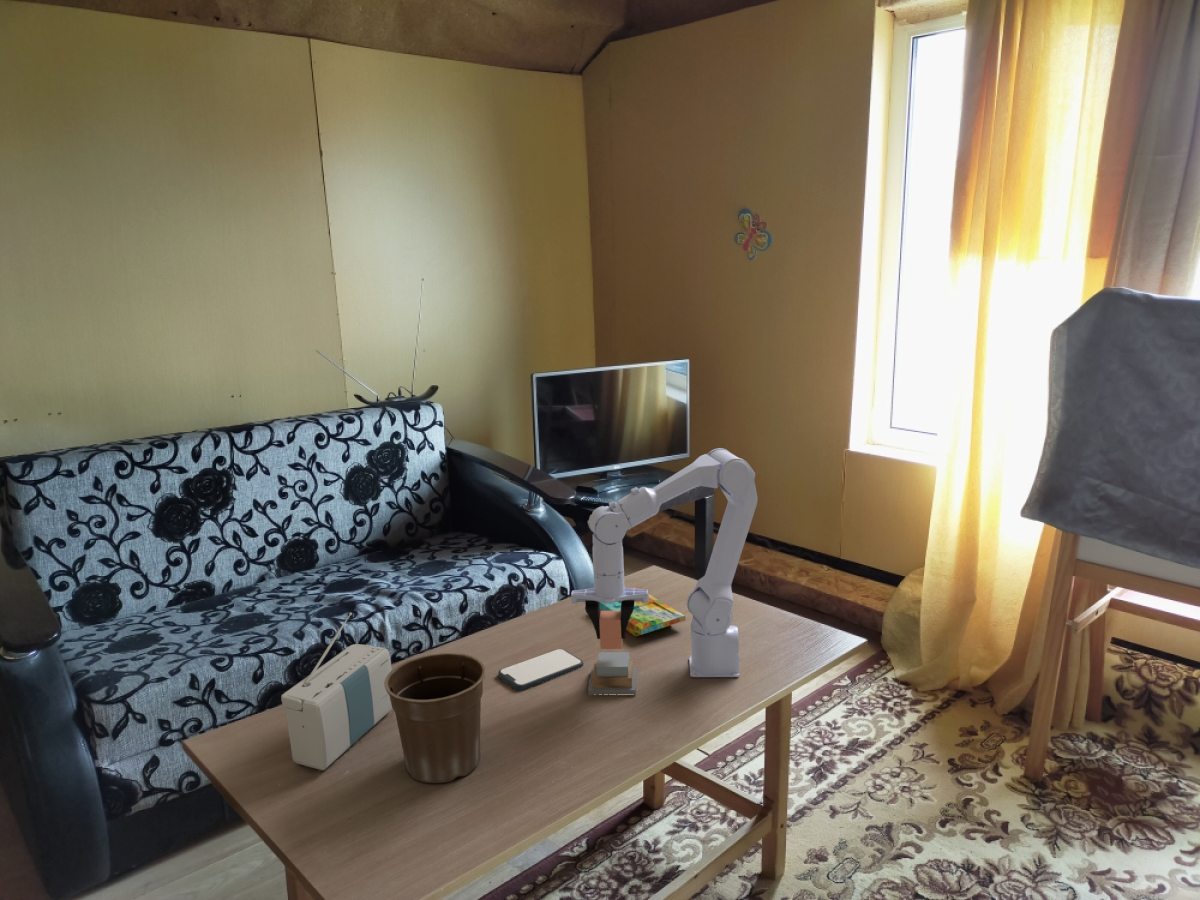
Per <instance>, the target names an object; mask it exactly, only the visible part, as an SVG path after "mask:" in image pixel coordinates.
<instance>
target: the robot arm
mask: <svg viewBox="0 0 1200 900" xmlns="http://www.w3.org/2000/svg"><path fill="white" fill-rule="evenodd" d="M755 478H756V473H755V471H754V470H753V468H752V467H751V465H750V464H749V462H747V460H745V459H743V458H741V457H738V456H736V455H735V454H734V453H732V452H730V450H727V449H726V448H722V447H719V448H714V449H712V450H710V451H709V452H708V453H705V454H702V455H700V456H698V457H697V458H696V459H695V460H694V461H693V462H692V463H691V464H689V465H687V466H685V467H683V468H682V469H681V470H679V471H678V472H676V473H674V474H673V475H671V476H670V477H668V478H666V479H664V480H663V481H662V482H661V483H659V484H657V485H656V486H654V487H652V488H650V487H646V486H641V487H640V488H638V487H636V486H635V487H633V488H631V489H630V493H629V494H627V495H625V496H623V497H622V498H619V499H618V500H616V501H613V500H612V501H610V502H609V503H608V505H606V506H604V505H601V506H599V507H596V508H595V509H594V510H593V511H592V514H590V515H589V518H588V520H587V525H588V528H589V530H590V531H591V532H592V548H591V549H592V569H593V571H592V572H593V585H594V586H593V587H591V588H590V587H589V588H585V589H575V590H572V591H571V593H570V599H571V601H570V603H571V604H572V605H573V604H574V605H575V604H578V603H584V604H585V606H584V610H585V613H586V614H587V615H588V617H589V619H590V621H591V622H592V625H593V628H594V631H595V635H596V639H597V640H600V624H599V619H600V602H603V603H604V604H613V603H614V602H621V620H622V629H621V637H622V639H623V640H625V639H626V632H627V630H626V628H627V624H628V621H629V619H630V617H631V614H632V612H633V610H634V602H642V603H648V594H649V589H640V588H639V589H633V588H634V587H626V586H625V570H624V547H623V540H624V537H625V535H626V533H627V531H629V530H631V529H632V528H634V527H636V526H637V525H639V524H641V523H643V522H645V521H647V520H648V519H650V518H652V517H653V516H656V515H657V514H658V513H659V510H660V509H661V505H662V504H665V503H667V502H668V501H671V500H672V499H675V498H677V497H679V496H681V495H682V494H685V493H686V492H689V491H691V490H692V489H694V488H697V487H705V488H713V489H718V487H719V488H720V490H721V492H722V493H723V495H724V496H725V498H726V499H727V504H726V508H725V511H724V513H723V516H722V520H721V523H720V526H719V530H718V532H717V536H716V539H715V542H714V546H713V548H712V551H711V555H710V558H709V561H708V565H707V568H706V571H705V573H704V575H703V576H702V577H701V578H699V579H698V580H697V582H696V584H695V587H694V589H693V590H692V591H691V592H690V593H689V595H688V597H687V599H686V608H687V610H688V612H689V613H690V614H691V615H692V620H691V623H690V634H691V635H690V637H691V639H690V641H691V642H690V643H691V644H690V645H691V655H690V656H689V659H688V661H689V662H688V663H689V676H690V677H692V678H738V677H740V663H741V658H740V654H741V653H740V642H739V640H740V638H739V628H738V626H737V625H732V622H733V611H732V609H733V604H734V597H733V591H732V584H733V580H734V577H735V575H736V571H737V568H738V564H739V562H740V558H741V556H742V553H743V549H744V547H745V543H746V539H747V536H748V534H749V531H750V527H751V524H752V521H753V518H754V516H755V511H756V508H757V505H758V499H759V498H758V492H757V487H756V483H755Z"/></svg>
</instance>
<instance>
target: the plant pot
mask: <svg viewBox="0 0 1200 900" xmlns="http://www.w3.org/2000/svg"><path fill="white" fill-rule="evenodd" d="M485 676H486V666H485V664H484V663H483V662H482V661H481V660H480V659H478V658H476V657H475V656H472V655H469V654H465V653H461V652H460V653H459V652H439V653H431V654H426V655H421V656H418V657H415V658H411V659H409V660H407V661H405V662H403V663H400V664H399V665H398V666H396V667H395V668H393V669H392V671H391V672H390V673H389V674H388V675H387V677H386V679H385V682H384V685H385V689H386V691H387V693H388V694H389V696H390V700H391V705H392V708H393V709H392V710H393V712H394V713H395V718H396V723H397V724H396V725H397V729H398V732H399V738H400V742H401V748H402V751H403V752H402V753H403V757H404V762H405V763H404V764H405V768H406V771H407V772H408V773H409V775H410V776H411V778H413V779H414V780H416V781H418V782H421V783H426V784H443V783H445V784H446V783H450V782H453V781H454V780H455V779H456V778H458V777H465V776H467V775H469V774H470V773H471V772H472V771H473V770H475V769H476V767H477V766H478V764H479V762H480V759H481V712H482V711H481V709H482V707H481V706H482V705H481V701H482V696H483V692H484V691H483V690H484V689H483V686H484V682H483V681H484V679H485Z"/></svg>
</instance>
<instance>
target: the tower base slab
mask: <svg viewBox="0 0 1200 900" xmlns="http://www.w3.org/2000/svg"><path fill="white" fill-rule="evenodd" d="M593 669H594V666H591V670H590V675H589V682H588V687H587V696H588V695H594V694H596V695H599V694H602V695H604V694H608V695H609V694H616V695H617V694H634V695H636V694H637V682H636V680H637V679H638V678H637V677H638V667H637V666H633V678H632V688H593V685H592V676H593ZM636 696H637V695H636Z"/></svg>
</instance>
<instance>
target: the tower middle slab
mask: <svg viewBox="0 0 1200 900" xmlns="http://www.w3.org/2000/svg"><path fill="white" fill-rule="evenodd" d="M597 661H598V659H594V662H593V667H594V669H593V676H592V685H593V688H632V678H633V667H634V660H633V658H630V665H629V676H614V677H597Z"/></svg>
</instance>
